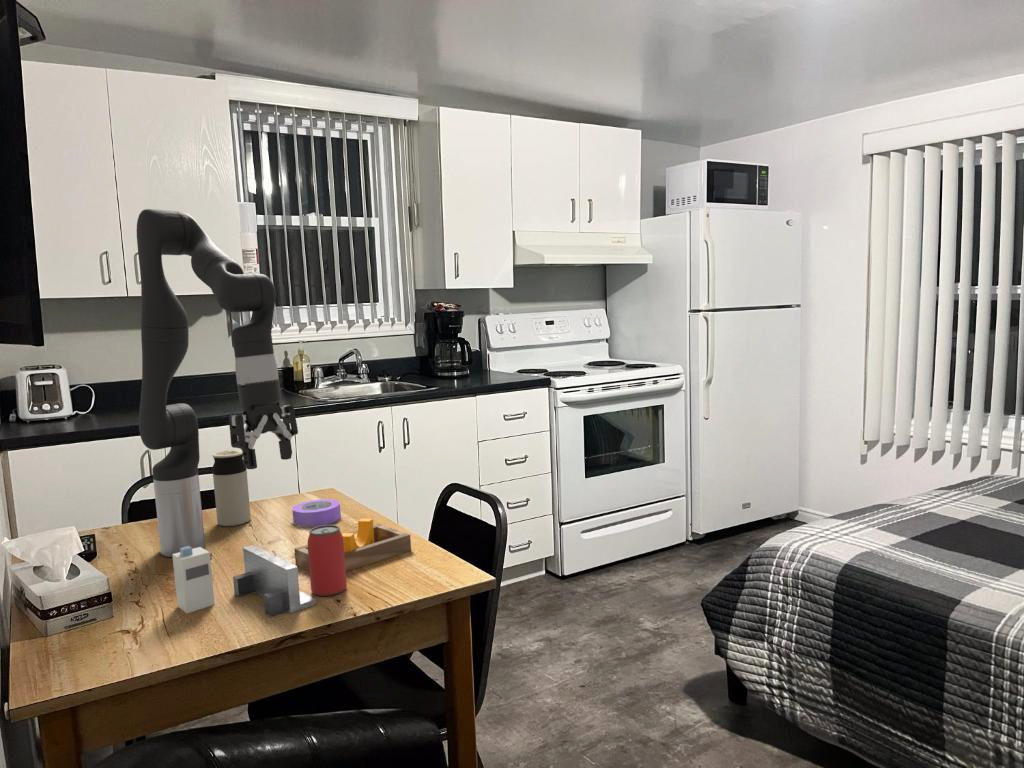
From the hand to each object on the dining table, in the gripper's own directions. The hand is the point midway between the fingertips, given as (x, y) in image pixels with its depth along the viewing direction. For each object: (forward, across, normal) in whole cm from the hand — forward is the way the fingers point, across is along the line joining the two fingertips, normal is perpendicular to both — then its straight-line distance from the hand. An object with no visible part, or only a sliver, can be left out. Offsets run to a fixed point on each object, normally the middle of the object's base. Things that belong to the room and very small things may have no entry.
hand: (269, 463), depth 140 cm
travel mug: (+20, -26, -45) cm, 56 cm away
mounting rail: (+24, +6, +1) cm, 25 cm away
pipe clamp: (+24, -18, +1) cm, 30 cm away
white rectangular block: (+24, +13, -9) cm, 29 cm away
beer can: (+25, -2, +9) cm, 27 cm away
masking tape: (+22, -36, -26) cm, 50 cm away
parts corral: (+24, -18, +1) cm, 30 cm away
